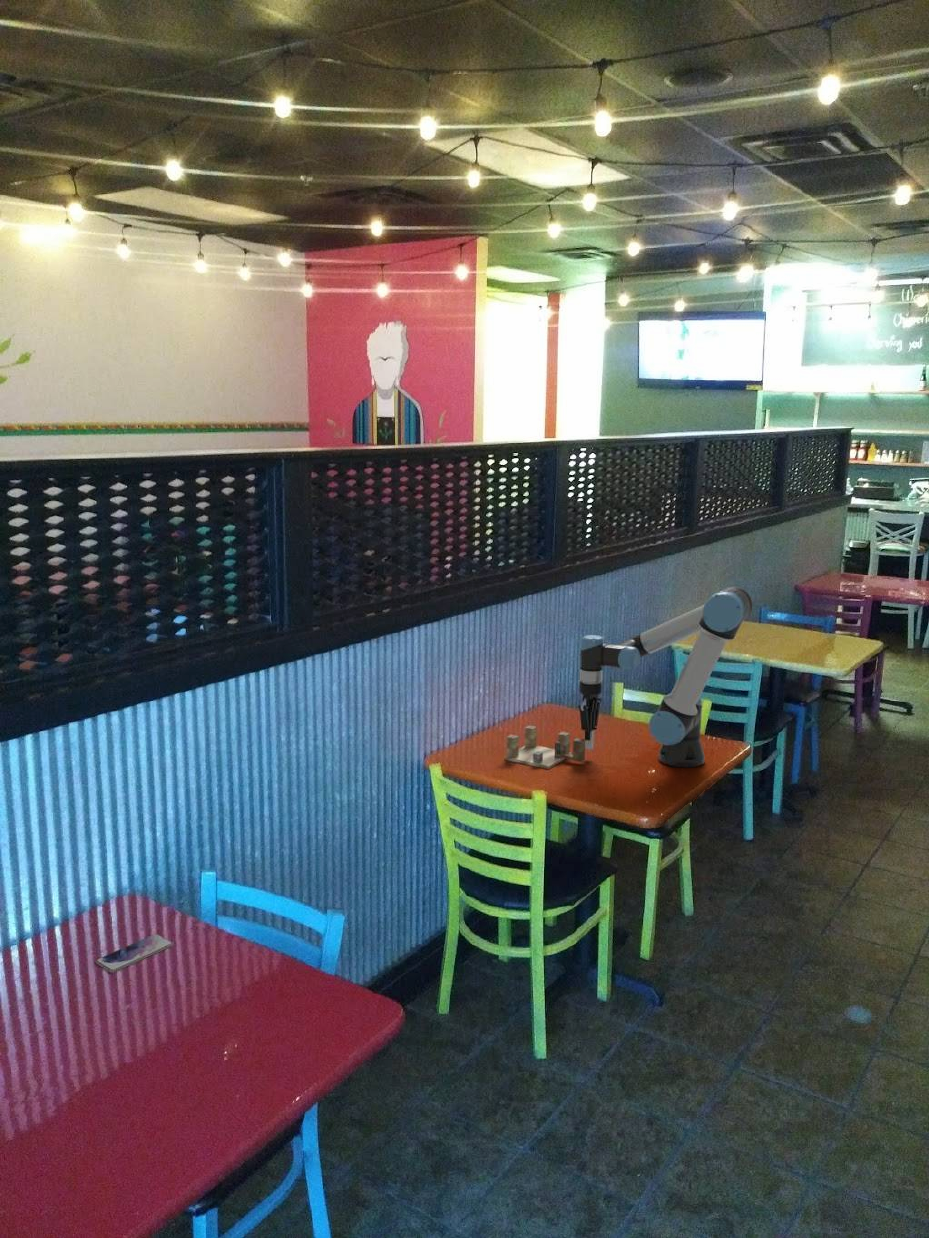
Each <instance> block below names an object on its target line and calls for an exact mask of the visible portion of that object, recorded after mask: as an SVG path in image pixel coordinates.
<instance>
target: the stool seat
mask: <svg viewBox="0 0 929 1238" xmlns="http://www.w3.org/2000/svg"><path fill="white" fill-rule="evenodd" d="M537 729H538V727H537V726H535V725H527V726H526V727H524V745H523V746H522V747H520V739H519V738H520V736H519V735H514V734H509V735H507V736H506V755H505V756H504V757H503V758H504V760H505V761H509V762H514V763H519V764H523V765H528V766H532V767H538V768H542V769H547V770H550V769H552V768H553V767H554V766H557V765H558V764H560V763H561V762H564V760H567V759H566V758H561V757H556V756H555V748H550V747H546V746H541V745H537V735H538V733H537V731H538V730H537ZM557 742H561V752H562V753H567V754H572V752H571V751H570V747H571V733H570V732H566V731H561V732H559V733H557Z"/></svg>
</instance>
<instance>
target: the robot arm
mask: <svg viewBox="0 0 929 1238" xmlns="http://www.w3.org/2000/svg"><path fill="white" fill-rule="evenodd" d="M753 605H754V602H753V600H752V597H751V595H750V593H749V592H748V591H746V590H745V589H743V588H742V587H739V586H729V587H726V588H724V589H722V590H721V591H718V592H716V593H714V594H712V595H710V597H709V598H708V599H707V600H706V602H705V603H704V604H703V605H701V606H699V607H697V608H696V607H695V608H694V609H692V610H690V611H687V612H685V613H683V614H681V615H679V616H675V617H674V618H672V619H670V620H668V621H666V622H663V623H661V624H658V625H657V626H655V627H653V628H650V629H648V630H646V631H644V632H641V633H639V634H637V635H634V636H632V637H630V638H628V639H626V640H625V641H623V642H621V643H619V644H612V643H611V644H610V643H605V641H604V638H603V636H601V635H597V634H596V635H595V634H589V635H584V636H582V638H581V640H580V648H579V651H580V656H579V657H580V658H579V665H580V666H579V670H578V671H579V672H578V673H579V688H578V690H579V693H580V694H582V703H581V704H578V711H579V715H580V716H579V717H580V718H579V719H580V730H581V731H584V739H585V750H594V742H595V741H594V739H595V737H594V736H595V731H597V730H598V728H597V726H598V722H599V716H600V715H599V714H600V708H601V703H602V697H599V695H600V694H602V691H603V683H602V681H603V667H609V668H616V669H621V670H622V669H623V670H636V669H637V668H638V666H639V662H640V660H641V659H642V658H644V657H646V656H648V655H650V654H653V653H655V652H658V651H660V650H663V649H665V648H667V647H669V646H672V645H673V644H676V643H678V642H681V641H683V640H685V639H687V638H690V637H691V636H692V637H693V636H695V635H697V634H698V636H697V638H696V640H695V642H694V644H693V647H692V648H691V650H690V653H689V655H688V656H687V658H686V661H685V663H684V665H683V666H682V669H681V671H680V674H679V676H678V678H677V679H676V682H675V684H674V686H673V689H672V690H671V692H670V693H668V694H666V695H664V696H663V698H662V700H661V702H660V703H659V706H658V708H657V711H656V712H654V713H653V714H652V715H651V718H649V719H650V720H649V722H648V729H649V731H650V735H651V736H652V738H653V739H654V740H655V741H656V742H658V744H661V746H660V749H659V752H658V760H659V761H660V763H663V764H665V765H668V766H672V767H675V768H676V767H677V768H695V767H699V766H702V765H704V763H705V753H704V750H703V749H704V748H703V747H702V742H701V730H702V729H701V728H702V727H701V726H702V711H703V709H702V708H703V701H702V698H701V695H702V693H703V691H704V689H705V687H706V685H707V683H708V680H709V679H710V677H711V675H712V672H713V671H714V668H715V666H716V664H717V662H718V660H719V658H720V656H721V654H722V652H723V650H724V647H725V646H726V644H727V642H728V643H729V642H732V641H734V639H735V637H736V636H737V635H736V634H737V633H738V631H739V629H740V627H741V625H742V623H743V622H745V621H746V619H747V618H749V617H750V615H751V613H752V611H753V607H754V606H753Z"/></svg>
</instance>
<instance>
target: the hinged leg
mask: <svg viewBox="0 0 929 1238" xmlns="http://www.w3.org/2000/svg"><path fill="white" fill-rule="evenodd" d="M572 740H573V741H572V742H573V743H572V753H571V754H567V753H562V752H561V742H558V741H554V749H555V756H556V757H561V758H566V759H565V760H570V761H574V762H579V763H582V762H583V761H585V760H586V757H585V756H586V749H585V738H584V739H583V738H579V737H576V738H574V739H572Z"/></svg>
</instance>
